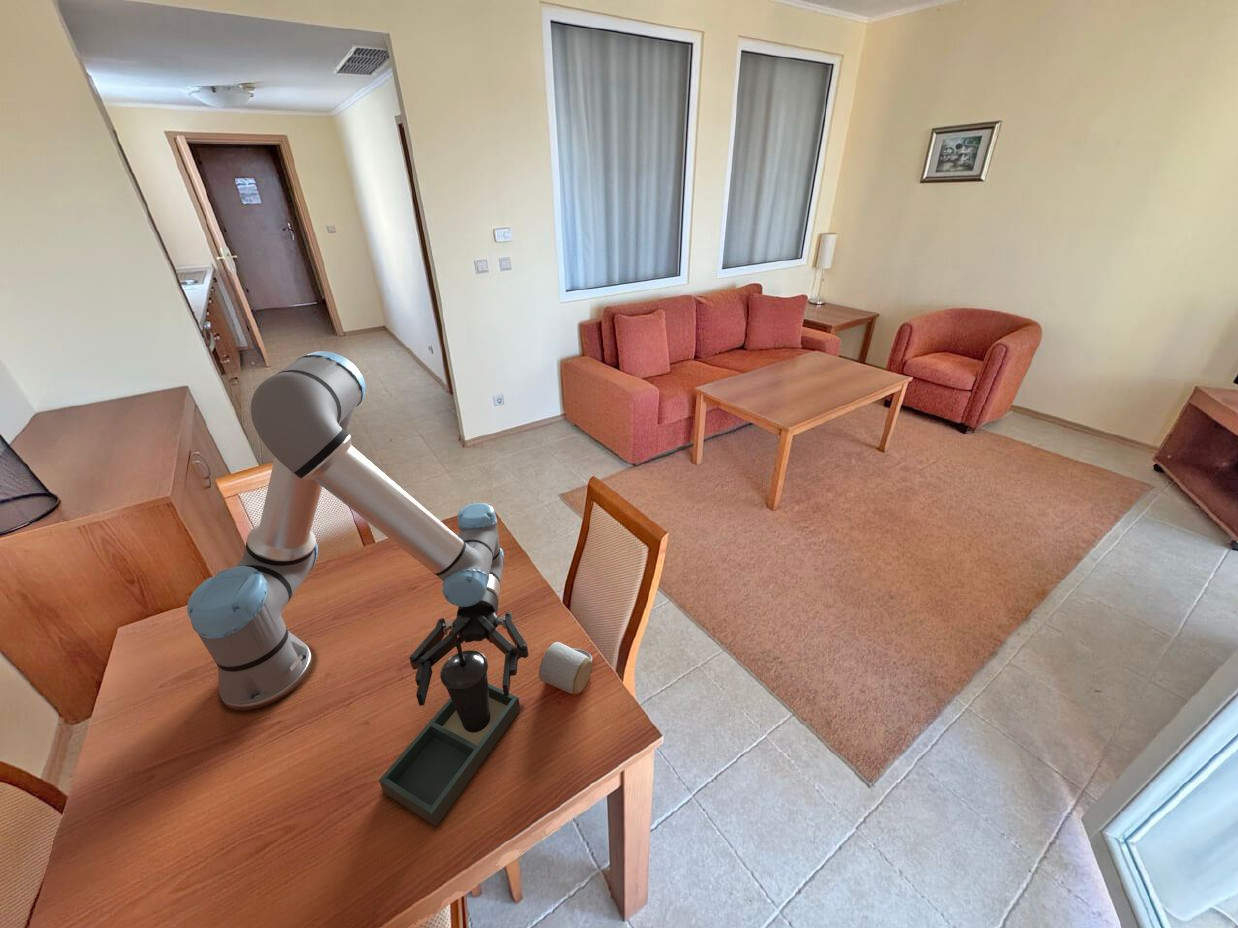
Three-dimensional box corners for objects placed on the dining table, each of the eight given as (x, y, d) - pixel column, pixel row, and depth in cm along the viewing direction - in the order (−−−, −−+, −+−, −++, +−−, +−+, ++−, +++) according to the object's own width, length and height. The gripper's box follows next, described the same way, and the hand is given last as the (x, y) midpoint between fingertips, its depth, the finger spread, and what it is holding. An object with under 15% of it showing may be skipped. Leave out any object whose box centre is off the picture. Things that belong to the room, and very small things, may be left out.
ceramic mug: (576, 704, 92) (574, 676, 89) (539, 688, 95) (536, 661, 92) (602, 662, 101) (601, 635, 97) (567, 648, 104) (565, 622, 100)
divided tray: (383, 792, 79) (378, 780, 77) (473, 686, 96) (470, 674, 94) (436, 826, 75) (431, 813, 73) (520, 709, 92) (518, 696, 90)
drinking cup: (453, 707, 91) (432, 630, 81) (496, 695, 93) (480, 619, 83) (454, 746, 85) (432, 667, 75) (500, 732, 87) (483, 654, 77)
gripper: (543, 609, 102) (542, 701, 84) (418, 621, 100) (389, 718, 81) (540, 581, 99) (538, 671, 80) (411, 593, 96) (377, 688, 78)
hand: (463, 695), depth 81 cm, fingers open, 13 cm apart
